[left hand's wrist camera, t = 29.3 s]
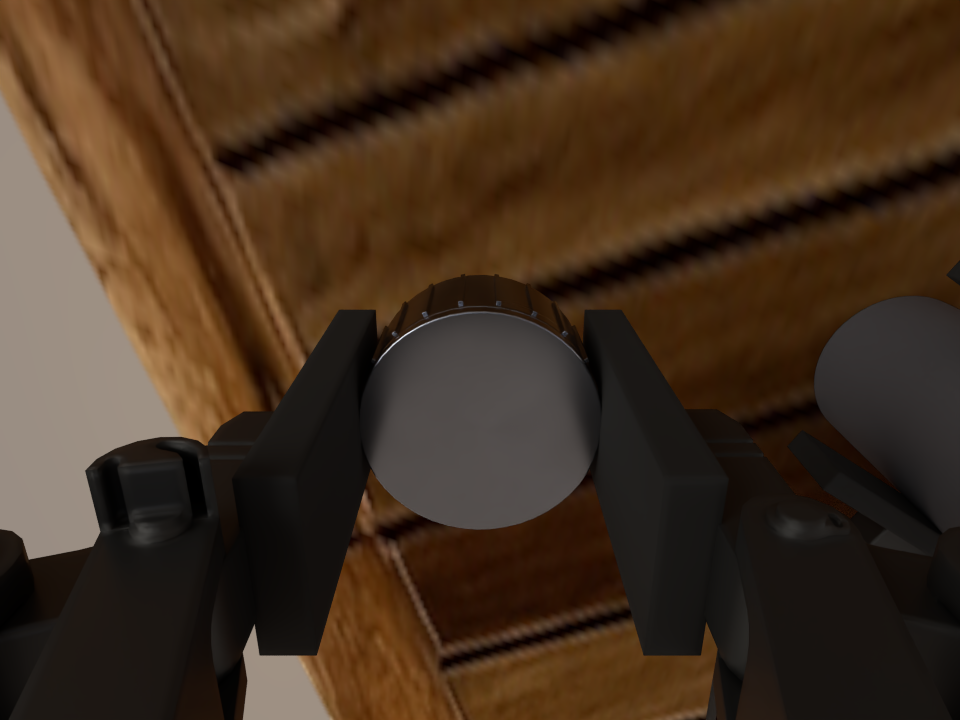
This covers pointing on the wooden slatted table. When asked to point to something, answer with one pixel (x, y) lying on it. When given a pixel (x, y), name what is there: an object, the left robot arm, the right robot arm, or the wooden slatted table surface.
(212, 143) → the wooden slatted table surface
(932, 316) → the bottle
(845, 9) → the wooden slatted table surface
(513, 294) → the cap
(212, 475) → the left robot arm
